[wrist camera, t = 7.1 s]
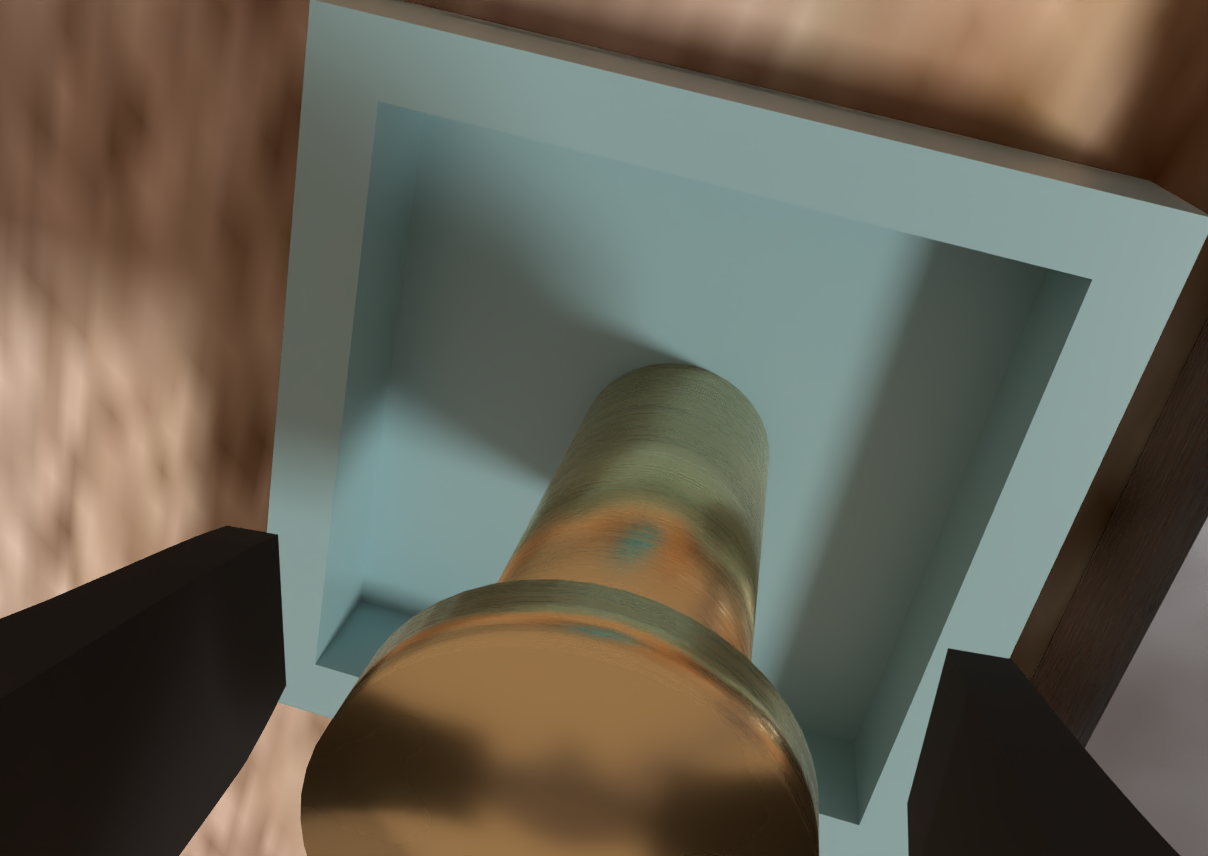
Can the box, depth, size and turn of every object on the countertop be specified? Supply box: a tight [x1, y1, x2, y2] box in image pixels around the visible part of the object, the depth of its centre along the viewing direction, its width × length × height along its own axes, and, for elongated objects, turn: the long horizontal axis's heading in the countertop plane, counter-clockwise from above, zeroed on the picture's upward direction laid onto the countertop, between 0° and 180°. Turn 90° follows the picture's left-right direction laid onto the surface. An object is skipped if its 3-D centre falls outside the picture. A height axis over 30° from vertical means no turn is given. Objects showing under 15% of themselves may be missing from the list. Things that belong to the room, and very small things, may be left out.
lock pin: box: [301, 363, 819, 856], centre depth 12 cm, size 4×4×8 cm
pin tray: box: [267, 0, 1208, 856], centre depth 16 cm, size 11×11×2 cm
